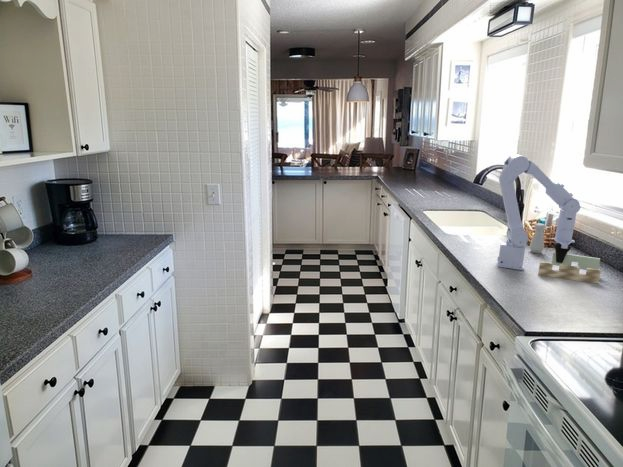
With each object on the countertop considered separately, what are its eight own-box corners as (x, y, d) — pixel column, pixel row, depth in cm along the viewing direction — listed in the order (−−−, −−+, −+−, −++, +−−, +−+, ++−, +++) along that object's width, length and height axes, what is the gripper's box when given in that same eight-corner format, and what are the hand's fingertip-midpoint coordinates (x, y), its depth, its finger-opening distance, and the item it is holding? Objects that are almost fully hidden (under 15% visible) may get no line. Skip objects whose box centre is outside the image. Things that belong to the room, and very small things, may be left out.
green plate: (551, 264, 186) (553, 252, 185) (551, 263, 187) (553, 251, 186) (597, 271, 180) (600, 259, 179) (597, 270, 181) (599, 258, 180)
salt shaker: (544, 254, 208) (549, 225, 204) (530, 253, 209) (535, 224, 205) (540, 251, 213) (545, 222, 210) (527, 249, 214) (531, 221, 211)
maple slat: (538, 274, 180) (540, 262, 179) (538, 273, 181) (540, 261, 180) (598, 283, 173) (600, 270, 172) (597, 282, 174) (600, 269, 173)
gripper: (579, 233, 174) (572, 268, 177) (574, 225, 187) (568, 258, 190) (558, 231, 176) (552, 265, 180) (554, 223, 189) (548, 255, 193)
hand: (558, 261), depth 185 cm, fingers closed on green plate
